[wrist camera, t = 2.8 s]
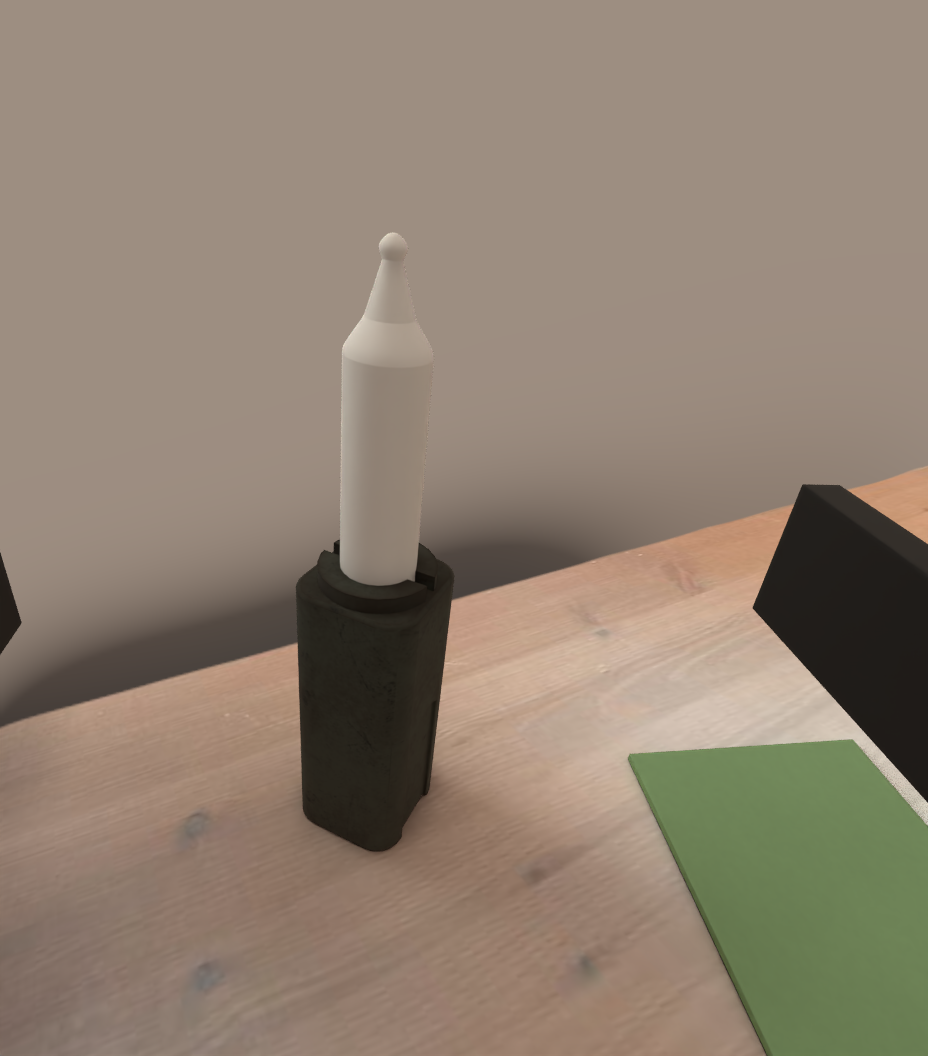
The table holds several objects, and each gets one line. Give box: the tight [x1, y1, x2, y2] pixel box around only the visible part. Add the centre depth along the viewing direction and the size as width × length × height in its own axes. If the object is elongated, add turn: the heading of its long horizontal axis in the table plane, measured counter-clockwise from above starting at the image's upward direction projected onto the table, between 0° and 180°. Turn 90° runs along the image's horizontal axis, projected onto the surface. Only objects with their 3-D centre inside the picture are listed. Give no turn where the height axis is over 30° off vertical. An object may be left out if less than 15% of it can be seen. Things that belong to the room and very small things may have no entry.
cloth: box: [628, 740, 928, 1056], centre depth 29 cm, size 14×16×1 cm
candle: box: [296, 233, 454, 851], centre depth 25 cm, size 5×5×25 cm
